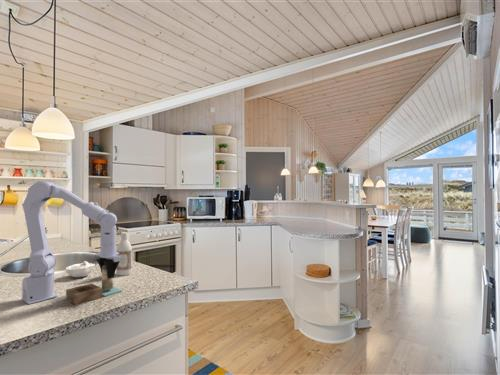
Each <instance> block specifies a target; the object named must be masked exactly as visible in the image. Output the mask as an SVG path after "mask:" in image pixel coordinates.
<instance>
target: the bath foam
mask: <svg viewBox="0 0 500 375" xmlns="http://www.w3.org/2000/svg"><path fill="white" fill-rule="evenodd" d="M128 234H129V233H128V232H127V231H123V232H120V241H119V243H118V244H117V245H116V252H118V253H119V254H118V256H120V262H119V264H118V266H117V268H116V271H115V274H116V276H128V275H130V274H131V273H132V271H133V269H132V268H133V247H132V245H131V243H130V241H129V240H128V236H129V235H128Z"/></svg>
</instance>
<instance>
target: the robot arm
mask: <svg viewBox="0 0 500 375" xmlns="http://www.w3.org/2000/svg"><path fill="white" fill-rule="evenodd" d="M51 199H60V200H61V199H62V200H63V201H66V202H67V203H69V204H71V205H73V206H74V207H77V208H79V209H80V210H81V213H82V215H84V216H86V217H87V218H89V219H90V220H92V221H94V222H95V223H98V225H99V226H100V238H99V239H100V240H99V241H100V249H99V250H100V251H97V254H96V255H97V257H99V258H96V262H97V264H98V266H99V270H100V272H101V274H102V266H103V265H105V266H106V270H107V277H108V279H110V278H113V279H114V278H115V274H116V268H117V266H118V264H119V262H120V256H118V254H119V253H118V252H116V250H117V225H116V224H117V222H118V218H117V215H116V214H115V213H114V212H110V210H108V209H105V208H103V207H101V206H100V205H99V203H98V202H94V201H90V202H86V201H85V200H83V199H82V198H80V196H77V195H76V194H74V193H73V192H71V191H70V190H69V189H67V188H66V187H63V186H62V185H59V184H57V183H55V182H54V181H44V180H41V181H36V182H33V184H32V185H30V186H29V187H28V188H27V194H26V196H25V199H24V201H23V204H22V207H23V211H24V212H23V214H24V218H25V224H26V230H27V233H28V238H29V239H28V240H29V245H30V249H31V251H30V255H29V258H28V260H29V263H28V266H27V271H28V273H29V274H30V275H29V276H26V277H23V279H22V288H21V290H22V291H21V292H22V294H21V296H22V297H21V300H22V301H23V302H25V303H26V304H28V305H30V304H35V303H38V302H42V301H46V300H49V299H54V298H57V297H59V294H57V293H55V270H54V267H55V266H56V264H57V259H56V257H55V255H54V254H53V252H52V249H51V248H50V247H49V244H48V237H47V234H46V233H47V232H46V227H45V222H44V217H43V211H42V207H43V206H44V205H45V204H46V203H47V201H49V200H51Z"/></svg>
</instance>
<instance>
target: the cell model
mask: <svg viewBox="0 0 500 375" xmlns="http://www.w3.org/2000/svg"><path fill="white" fill-rule="evenodd" d="M95 265H96V264H95V263H92V262H88V261H86V260H84V261H82V262H81V263H75V264H71V265H69V266H67V267H65V271H66V274H68V275H69V276H70V277H72V278H82V277H83V278H84V277H86V276H88V275H89V274H90V273H91V272H92V271H93V270H94V267H95Z"/></svg>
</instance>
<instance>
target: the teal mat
mask: <svg viewBox="0 0 500 375" xmlns="http://www.w3.org/2000/svg"><path fill="white" fill-rule="evenodd" d="M122 292H123V290H122V289H120V288H118V287H115V286H113V288H112V289H109V290H102V297H103V298H104V297H109V296H112V295H115V294H116V295H117V294H119V293H122Z"/></svg>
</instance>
